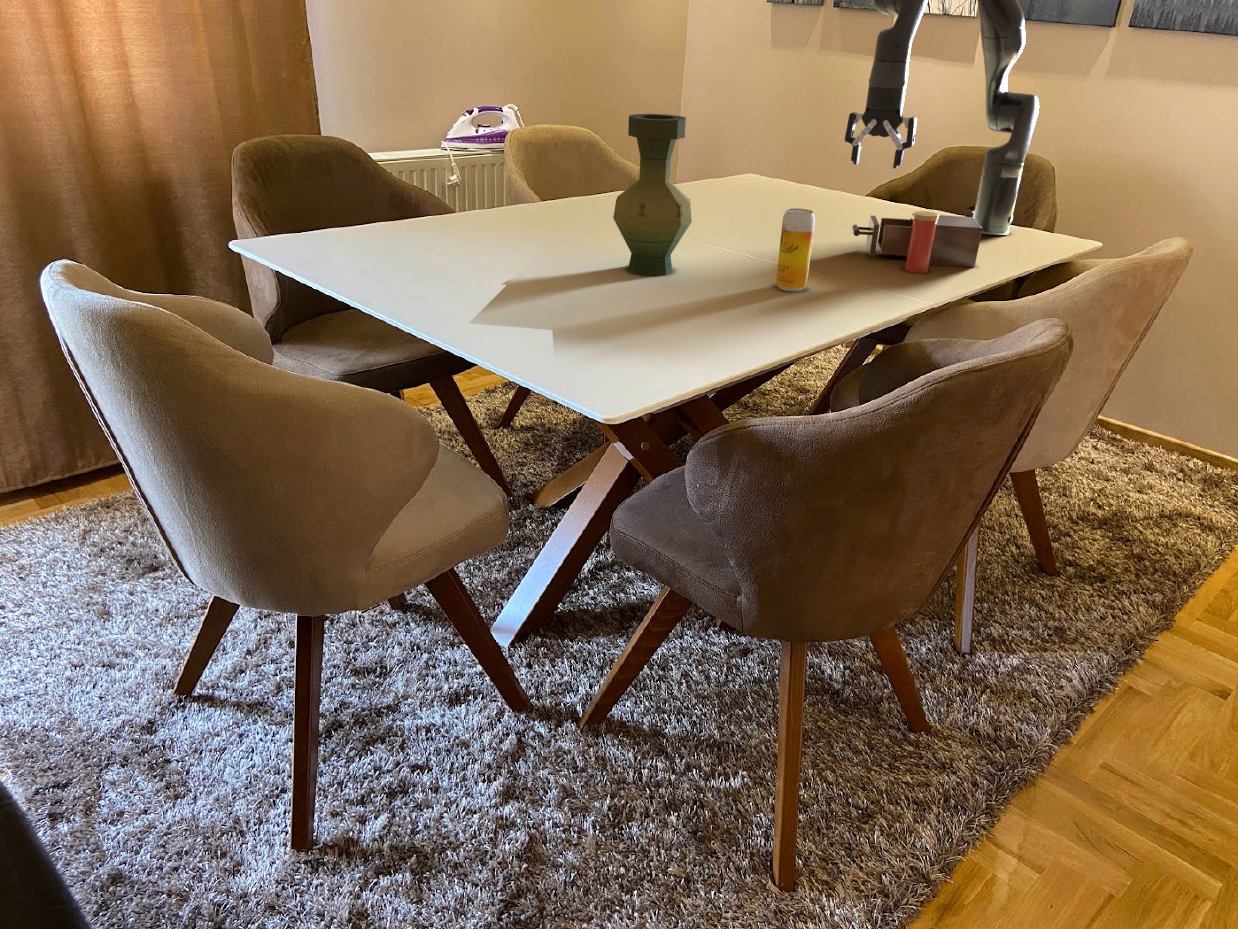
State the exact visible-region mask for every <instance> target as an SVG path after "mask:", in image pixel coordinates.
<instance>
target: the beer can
mask: <svg viewBox="0 0 1238 929" xmlns="http://www.w3.org/2000/svg"><path fill="white" fill-rule="evenodd" d="M815 222H816V216H815V212H814V211H813V210H811V209H807V208H799V207H798V208H796V207H795V208H793V207H792V208H787V209H785V212H784V214H783V216H782V222H781V230H780V231H781V233H780V239H779V240H780V242H779V249H778V259H777V268H776V275H775V276H776V278H775V284H776V286H777V287H778V289H779V290H781V291H785V292H802V291H803V290H804V289H805V288H806V287H808V286H807V285H808V280H809V279H808V277H809V270H810V262H811V254H812V246H813V240H814V230H815Z"/></svg>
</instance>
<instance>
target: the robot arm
mask: <svg viewBox="0 0 1238 929" xmlns="http://www.w3.org/2000/svg"><path fill="white" fill-rule="evenodd" d="M928 1H929V0H873V5H874V7H875V9H876V10H877V11H878V12H879V13H880V14H882V15H885V16H897V17H896V19H895V21H894V24H893V25H892V26H891V27H889V28H885V29H882V30H880V31H879V32H878V34H877V37H876V41H875V42H876V43H875V48H874V56H873V62H872V66H871V69H870V75H869V78H868V89H867V97H866V103H865V110H864V112H863V113H859V112H856V111H853V112H850V113H849V115H848V119H847V124H846V130H845V135H844V142H845V143H848V144H851V146H852V149H851V155H850V156H851V157H850V160H851V162H853V163H852V164H853V165H854V166H855V165H856V166H857V165H859V164H860V157H861V151H862V145H861V144H862V143H863V141H864V140H865V139H866V138H867V137H868V136H869V135H870V136H871V137H881V138H888V137H889V138H890V139H891V141H892V142H893V144H894V145H895V147H896V149H895V150H894V151H895V152H894V157H893V164H892V169H895V170H896V169H898V168H899V167H900V166H901V165H902V164H903V160H904V159H903V158H904V152H905V150H907V149H910V148H912V147H913V146H915V140H916V132H917V122H918V118H917V117H916V116H911V117H908V116H907V117H906V116H905V117H904V116H903V109H904V104H905V97H906V90H907V84H908V77H909V65H910V58H911V51H912V44H913V41H914V37H915V35H916V32H917V30H918V27H919V26H920V23H921V20H922V17H923V15H924V13H925V10H926V7H927V4H928ZM976 1H977V10H978V16H979V27H980V30H979V31H980V40H981V48H982V55H983V66H984V75H985V77H984V78H985V120H986V124H987V127H988V128H989V130H991V131H993V132H997V133H1003V134H1010V137H1009V139H1008V141H1007V142H1005V143H1003V144H1002V145H1001V144H1000V145H998V146H994V147H990V148H988V149H987V150H986V152H985V156H984V160H983V166H982V171H981V176H980V180H979V186H978V192H977V197H976V201H975V203H974V204H973V207H974V210H972V211H971V212H970V215H971V216H970V217H973V218H974V219H975V220H976V221H977V222H978V224H979V225H980V226H981V227H982V228H983V229H982V234H981V235H986V236H987V235H988V236H1007V235H1009V234H1010V227H1011V224H1012V222H1013V219H1014V210H1015V205H1016V201H1017V197H1018V193H1019V187H1020V183H1021V178H1022V173H1023V170H1024V169H1023V168H1024V164H1025V160H1026V157H1027V155H1028V151H1029V149H1030V145H1031V141H1032V137H1033V133H1034V130H1035V126H1036V122H1037V118H1038V115H1039V108H1040V105H1039V104H1040V103H1039V99H1038V97H1037V96H1036V95H1035V94H1032V93H1021V92H1011V91H1009V89H1008V75H1009V74H1010V71H1011V69H1012V68H1013V66H1014V65H1015V63H1016V62H1017V60H1018V58H1019V57H1020V55H1021V54H1022V53H1023V49H1024V47H1025V44H1026V28H1025V26H1026V25H1025V24H1026V23H1025V15H1024V11H1023V9H1022V6H1021V5H1020V3H1019V2H1018V0H976ZM860 121H862V123H863V125H864V128H863V130H862V131H861V132H859V134H858V135H857V136H856V137H855V131H856V125H857V124H859V123H860ZM902 124H903V125H904V128H905V129H907V132H906V141H905V142H904V139H903V138H902V136H901V133H900V132H899V130H898V128H900V126H901V125H902Z"/></svg>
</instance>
